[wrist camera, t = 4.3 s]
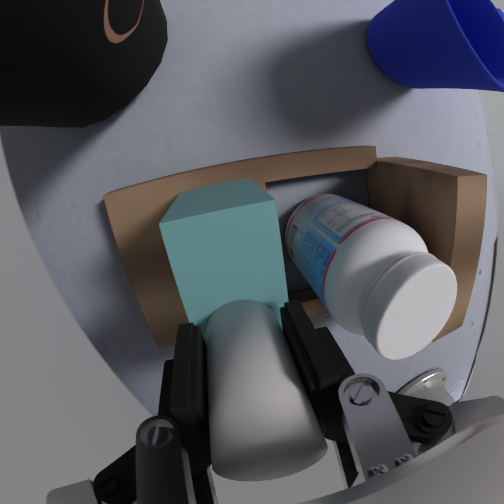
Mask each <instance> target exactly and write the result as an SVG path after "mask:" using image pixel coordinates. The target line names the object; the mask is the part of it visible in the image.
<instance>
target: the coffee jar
mask: <svg viewBox="0 0 504 504" xmlns="http://www.w3.org/2000/svg"><path fill="white" fill-rule="evenodd" d="M167 41H168V38H167V20H166V17H165V14H164V11H163V9H162V6H161V3H160V0H0V126H46V127H84V126H87V125H90V124H93V123H96V122H99V121H102V120H105V119H106V118H108V117H109V116H111V115H112V114H114V113H115V112H117V111H119V110H120V109H122V108H123V107H125V106H127V105H128V104H129V103H130V101H131V100H132V99H133V98H134V97H135V96H136V95H137V94H138V93H139V92H140V91H141V90H142V89H143V88H144V87H145V86H147V84H148V82H149V81H150V79H151V77H152V76H153V74H154V73H155V71H156V69H157V68H158V66H159V65H160V63H161V60H162V57H163V54H164V50H165V47H166V44H167Z"/></svg>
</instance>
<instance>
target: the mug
mask: <svg viewBox="0 0 504 504" xmlns="http://www.w3.org/2000/svg"><path fill="white" fill-rule="evenodd" d="M367 43H368V47H369V50H370V52H371V55H372V57H373V58H374V60H375V62H376V63H377V65H378V66H379V67H380V68H381V70H382V71H383V72H384V73H385V74H386V75H387V76H389V77H390V78H391V79H393V80H394V81H396V82H397V83H399V84H401V85H404V86H407V87H411V88H420V89H423V88H459V89H478V90H491V91H500V92H504V13H503V12H502V11H501V10H500V9H496V7H495V6H494V5H493V3H492V2H491V1H490V0H395V1H393V2H392V3H391V4H389V5H388V6H387V7H385V8H384V9H383V10H382V11H380V12H379V13H378V14H377V15H376V16H375V17H374V18H373V19H372V20H371V22H370V24H369V26H368V29H367Z"/></svg>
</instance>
